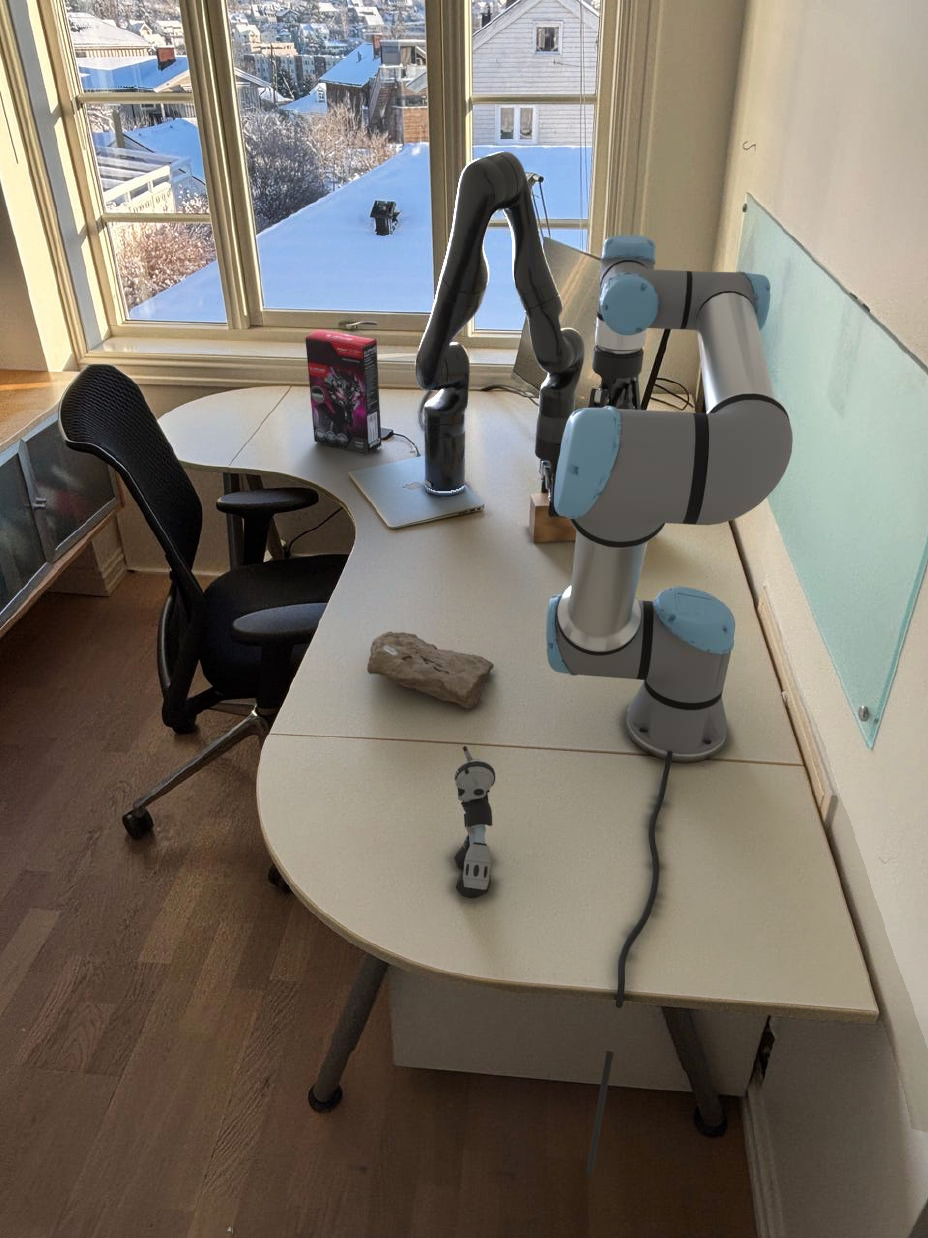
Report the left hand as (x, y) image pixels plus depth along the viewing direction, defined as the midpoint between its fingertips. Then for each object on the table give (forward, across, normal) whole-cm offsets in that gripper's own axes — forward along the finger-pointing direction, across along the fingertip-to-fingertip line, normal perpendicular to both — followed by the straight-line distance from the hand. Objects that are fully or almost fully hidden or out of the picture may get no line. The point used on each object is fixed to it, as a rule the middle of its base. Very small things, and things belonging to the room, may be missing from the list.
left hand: (549, 506), depth 192 cm
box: (+7, 0, +9) cm, 11 cm away
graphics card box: (+7, -51, -42) cm, 67 cm away
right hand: (-23, +34, +2) cm, 41 cm away
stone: (+6, +48, -30) cm, 57 cm away
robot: (+6, +89, -26) cm, 93 cm away
